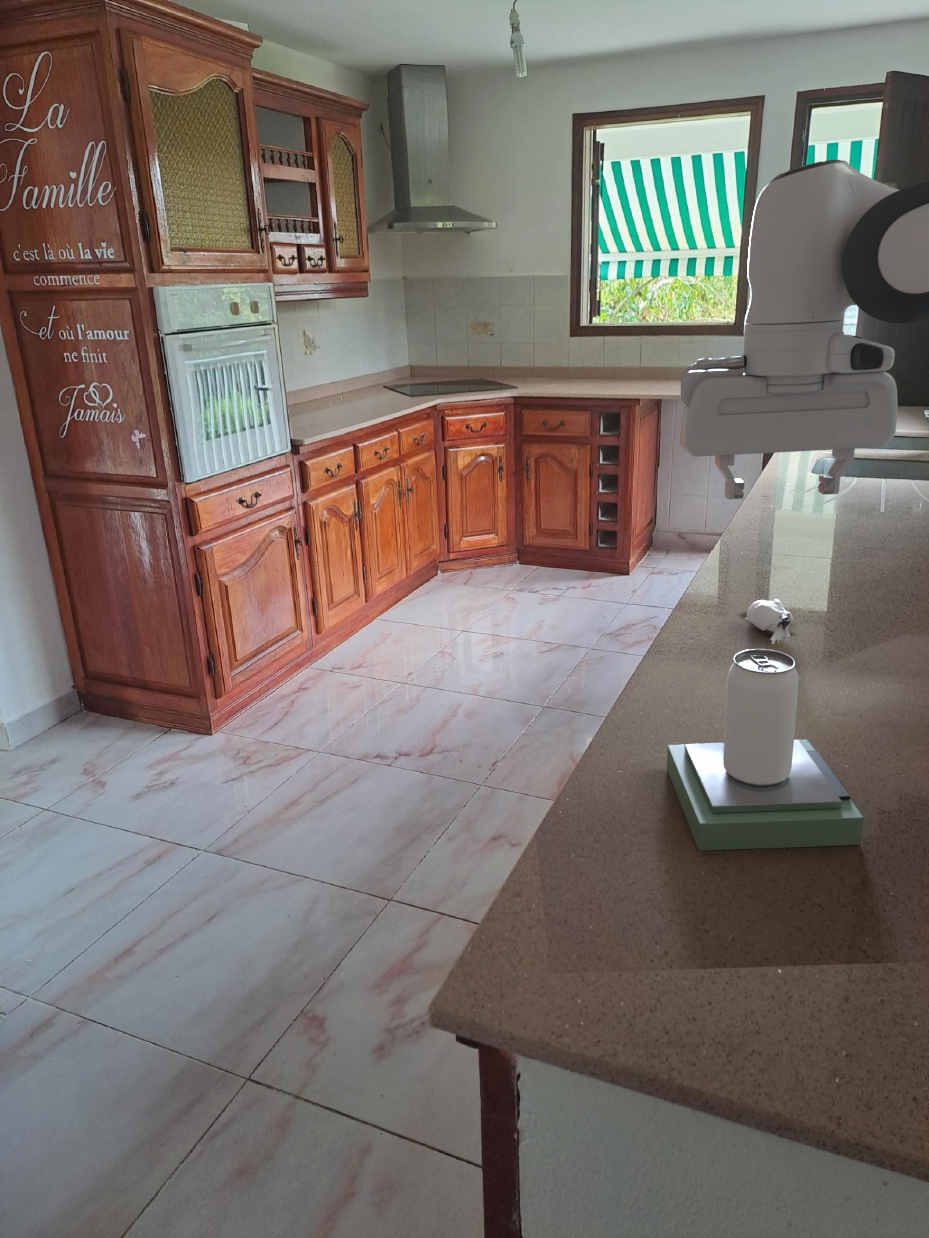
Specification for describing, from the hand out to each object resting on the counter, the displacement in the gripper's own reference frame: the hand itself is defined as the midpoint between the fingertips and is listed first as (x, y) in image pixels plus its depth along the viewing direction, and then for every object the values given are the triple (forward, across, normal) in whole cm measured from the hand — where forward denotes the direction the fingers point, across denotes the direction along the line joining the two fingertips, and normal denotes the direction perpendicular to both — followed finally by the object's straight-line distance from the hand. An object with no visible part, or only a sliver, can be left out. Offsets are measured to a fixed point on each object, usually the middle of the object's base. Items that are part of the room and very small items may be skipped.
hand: (780, 495), depth 89 cm
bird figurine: (+29, +11, +35) cm, 47 cm away
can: (+25, -4, -11) cm, 28 cm away
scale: (+29, -4, -11) cm, 31 cm away
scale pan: (+26, -4, -11) cm, 29 cm away
